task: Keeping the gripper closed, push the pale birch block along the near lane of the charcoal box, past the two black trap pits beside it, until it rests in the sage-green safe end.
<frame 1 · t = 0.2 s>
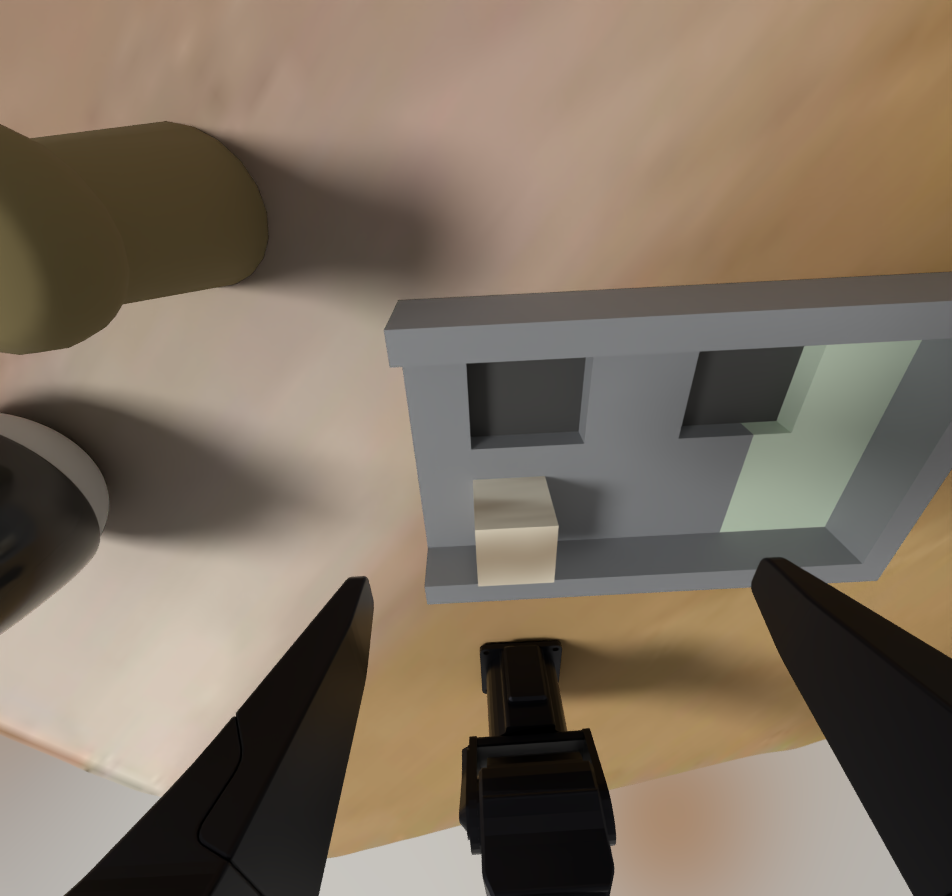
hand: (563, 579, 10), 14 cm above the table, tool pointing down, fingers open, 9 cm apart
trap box: (647, 433, 25), on the table
cork: (195, 211, 18), on the table
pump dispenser: (48, 462, 25), on the table
birch block: (509, 505, 25), point 1 cm above the table, touching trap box
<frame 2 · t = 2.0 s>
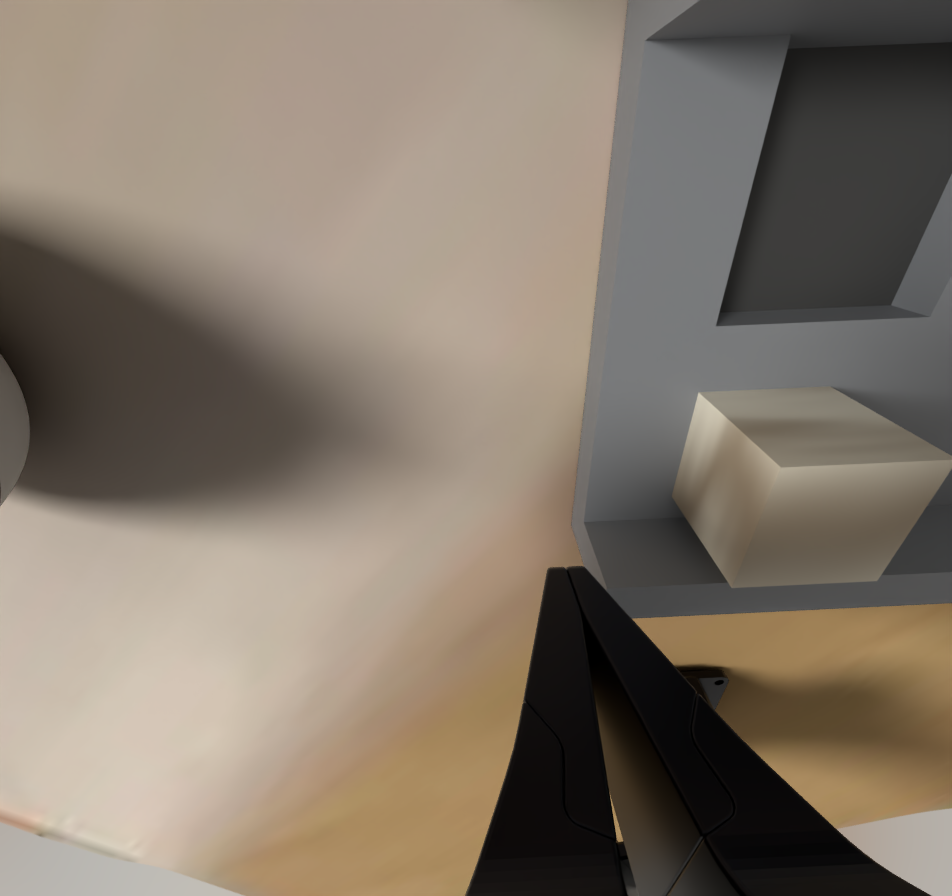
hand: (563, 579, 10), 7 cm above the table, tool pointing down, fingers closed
birch block: (745, 445, 14), point 1 cm above the table, touching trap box
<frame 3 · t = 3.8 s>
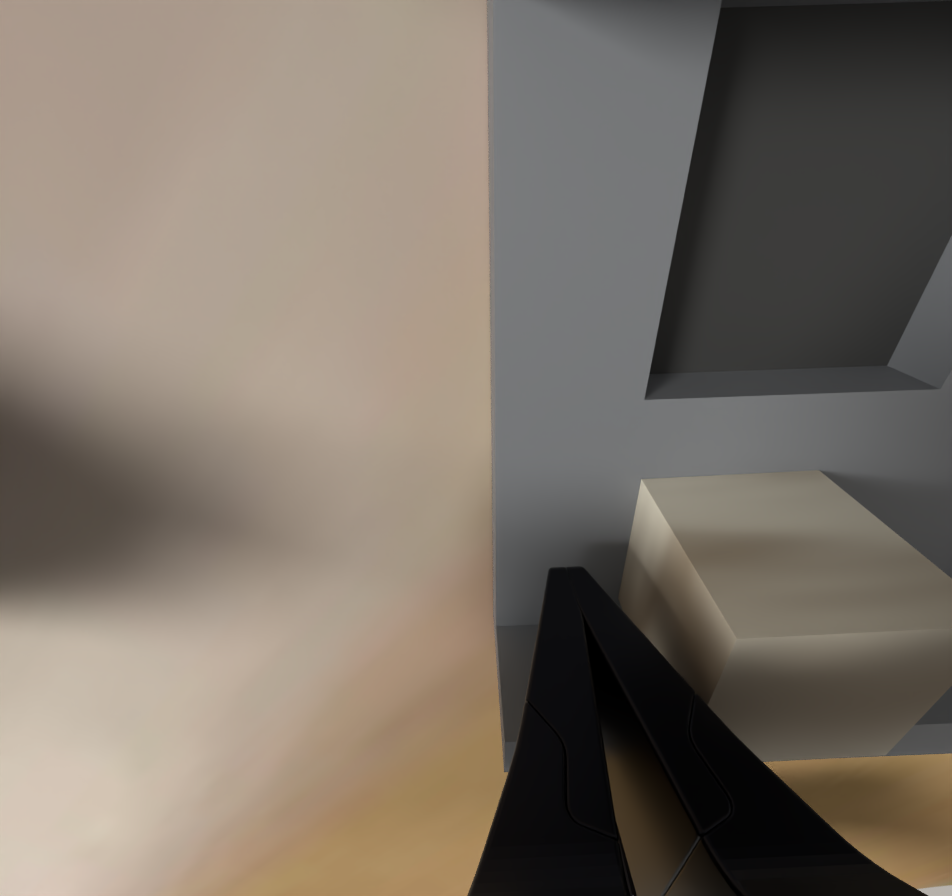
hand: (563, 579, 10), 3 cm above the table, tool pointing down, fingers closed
birch block: (708, 540, 11), point 2 cm above the table, touching gripper, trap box
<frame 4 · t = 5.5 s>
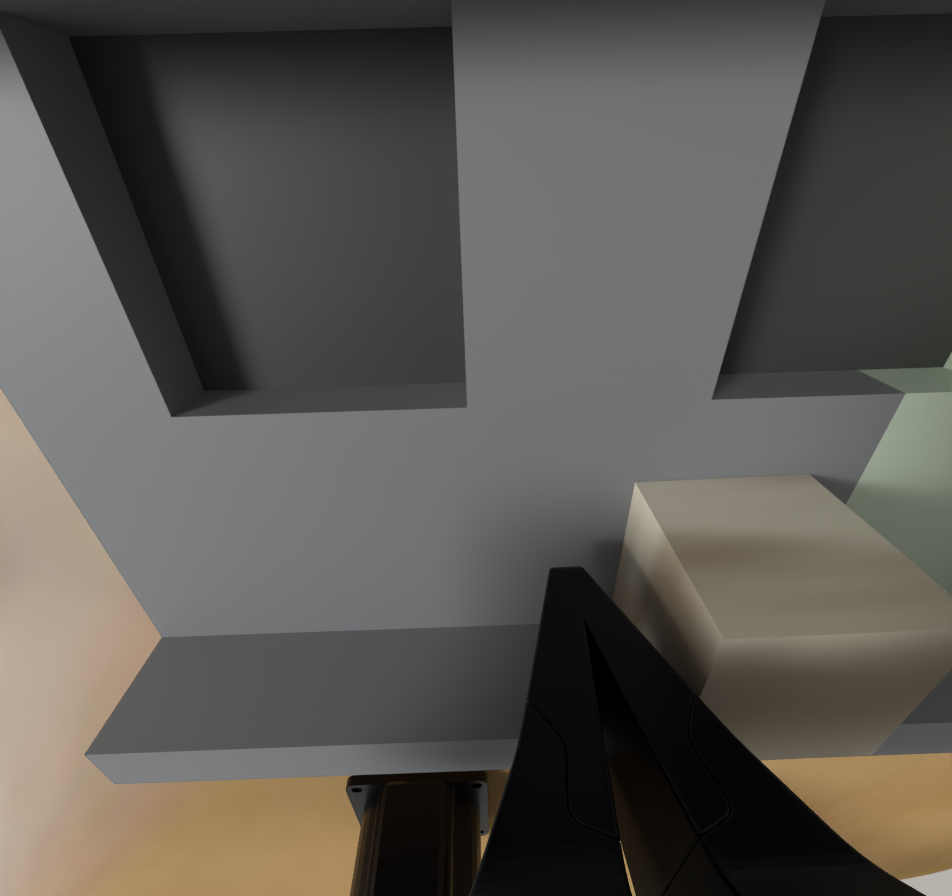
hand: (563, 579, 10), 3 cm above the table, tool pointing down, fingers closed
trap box: (634, 393, 10), on the table
birch block: (701, 542, 11), point 2 cm above the table, touching gripper
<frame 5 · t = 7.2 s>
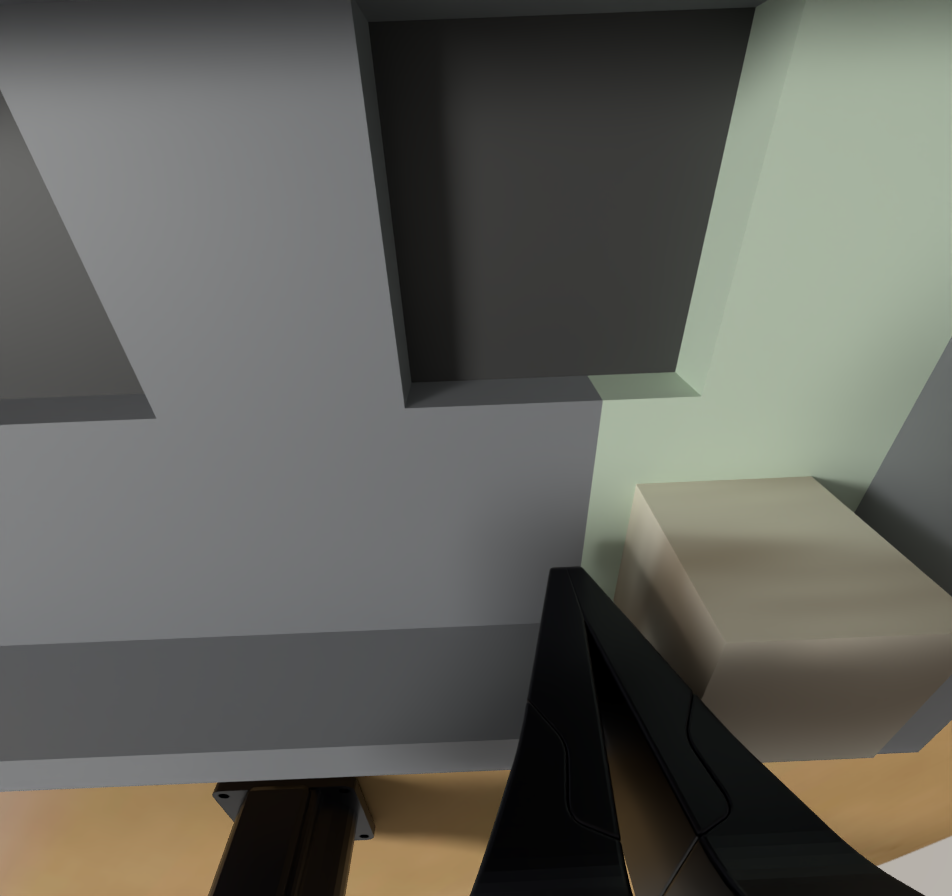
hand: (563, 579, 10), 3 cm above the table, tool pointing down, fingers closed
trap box: (372, 400, 10), on the table
birch block: (702, 544, 11), point 1 cm above the table, touching gripper, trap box
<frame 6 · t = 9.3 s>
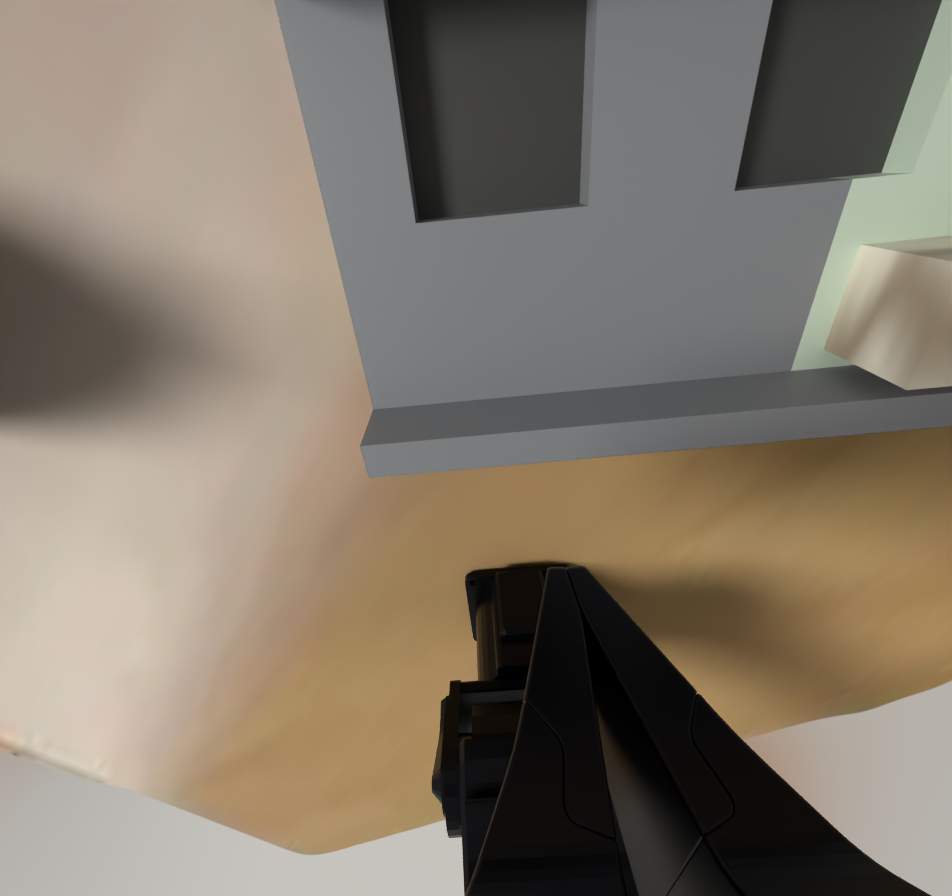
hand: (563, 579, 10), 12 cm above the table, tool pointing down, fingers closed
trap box: (683, 207, 16), on the table
birch block: (893, 295, 17), point 1 cm above the table, touching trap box
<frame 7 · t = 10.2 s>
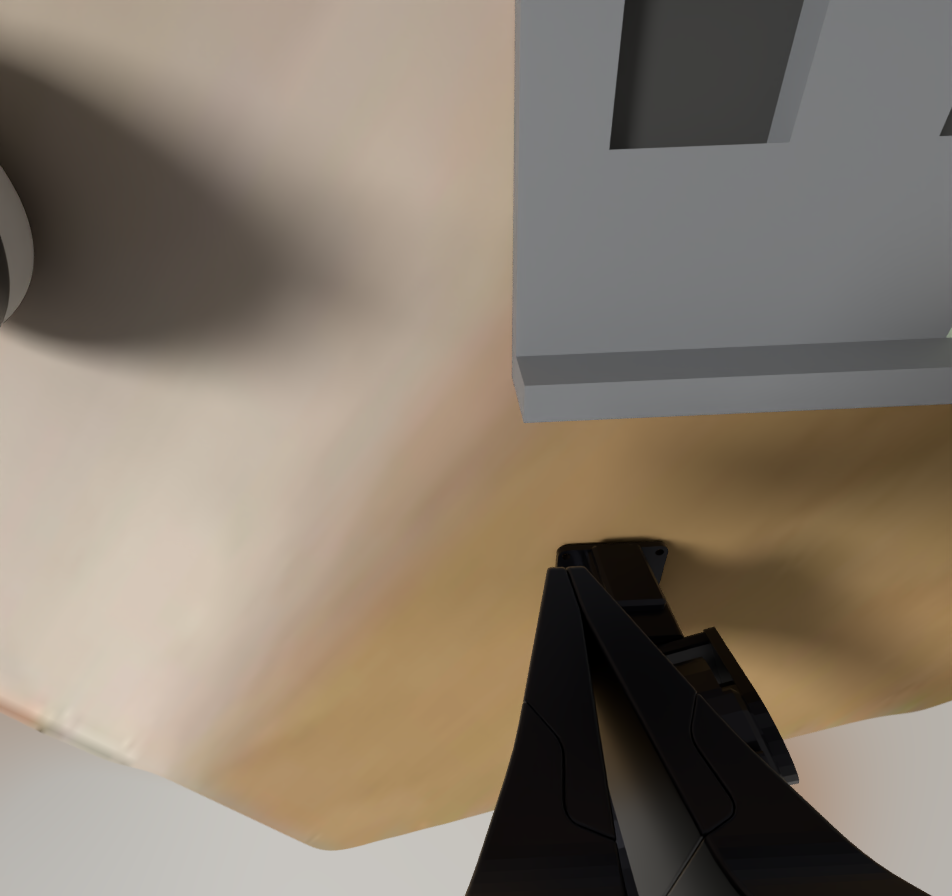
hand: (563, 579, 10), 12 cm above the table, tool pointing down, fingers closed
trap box: (867, 157, 16), on the table
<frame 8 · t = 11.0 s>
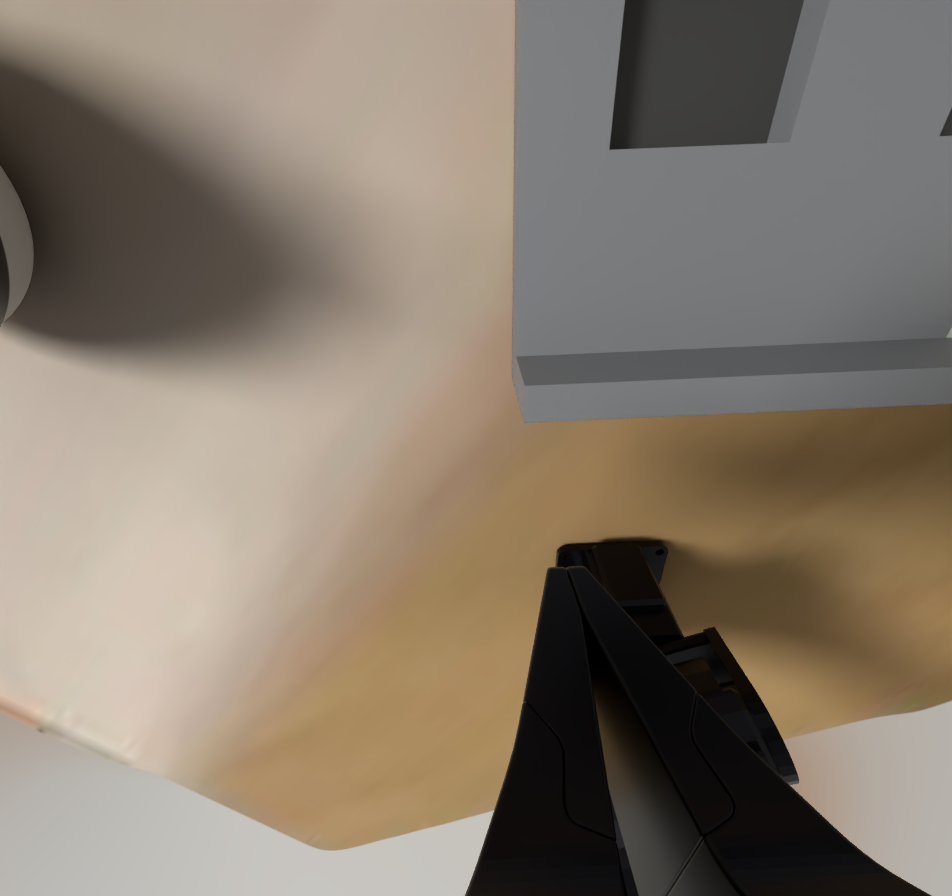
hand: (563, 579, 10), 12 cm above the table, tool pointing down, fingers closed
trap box: (867, 157, 16), on the table
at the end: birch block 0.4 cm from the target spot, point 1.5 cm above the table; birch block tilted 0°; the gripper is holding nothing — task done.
